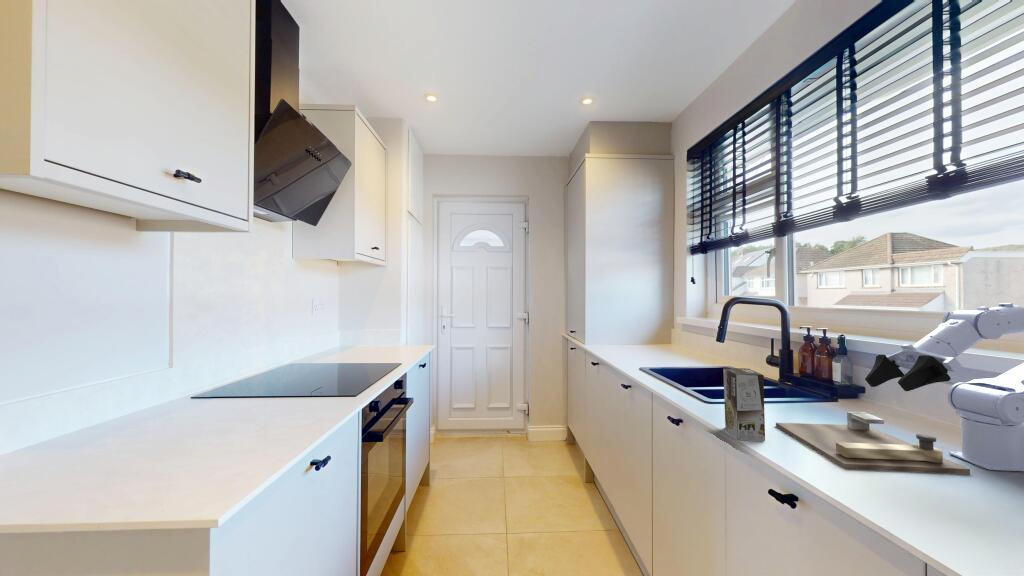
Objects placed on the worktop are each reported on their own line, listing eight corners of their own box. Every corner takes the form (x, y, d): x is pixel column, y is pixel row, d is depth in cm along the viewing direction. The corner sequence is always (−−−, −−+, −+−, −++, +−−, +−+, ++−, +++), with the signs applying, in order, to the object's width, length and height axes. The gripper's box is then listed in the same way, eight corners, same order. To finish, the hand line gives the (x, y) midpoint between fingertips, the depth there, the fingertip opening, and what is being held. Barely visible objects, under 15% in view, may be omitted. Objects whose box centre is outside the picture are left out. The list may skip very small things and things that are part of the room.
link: (928, 454, 80) (927, 433, 80) (949, 463, 75) (948, 440, 76) (833, 450, 82) (833, 429, 82) (848, 459, 78) (848, 437, 78)
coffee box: (766, 442, 91) (764, 374, 91) (737, 440, 92) (735, 374, 92) (750, 429, 100) (749, 367, 100) (724, 427, 101) (722, 367, 101)
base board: (867, 429, 98) (866, 410, 98) (970, 474, 73) (968, 448, 73) (775, 426, 101) (775, 407, 101) (844, 468, 76) (843, 443, 76)
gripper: (891, 333, 86) (843, 366, 86) (961, 331, 72) (904, 370, 72) (914, 359, 85) (865, 393, 85) (989, 362, 71) (931, 402, 71)
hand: (885, 384), depth 78 cm, fingers open, 7 cm apart
